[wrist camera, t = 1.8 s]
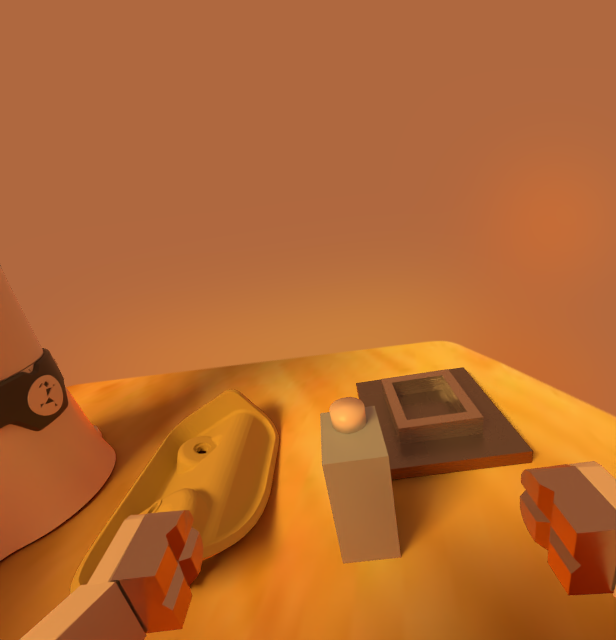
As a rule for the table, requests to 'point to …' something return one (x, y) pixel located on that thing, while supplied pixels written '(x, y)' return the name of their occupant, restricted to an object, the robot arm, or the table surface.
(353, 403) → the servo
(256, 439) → the plastic component
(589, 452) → the table surface
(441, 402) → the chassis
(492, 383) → the table surface
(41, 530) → the robot arm
